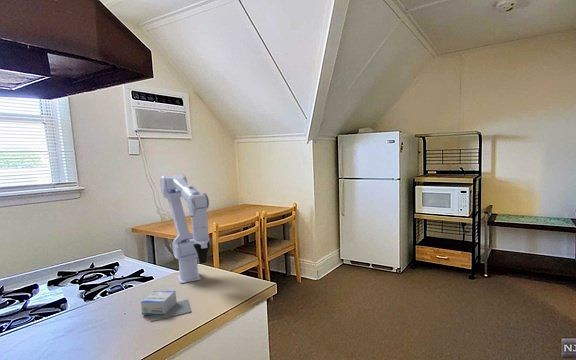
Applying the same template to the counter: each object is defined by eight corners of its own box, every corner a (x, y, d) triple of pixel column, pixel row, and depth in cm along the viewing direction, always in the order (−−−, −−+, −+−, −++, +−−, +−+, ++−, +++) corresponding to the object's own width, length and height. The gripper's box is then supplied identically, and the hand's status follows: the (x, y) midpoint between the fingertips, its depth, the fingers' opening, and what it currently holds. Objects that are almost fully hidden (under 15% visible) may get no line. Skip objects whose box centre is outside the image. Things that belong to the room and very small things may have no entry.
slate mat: (150, 308, 109) (150, 307, 109) (187, 300, 114) (187, 299, 114) (150, 321, 100) (150, 320, 100) (191, 312, 105) (191, 311, 105)
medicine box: (176, 290, 112) (163, 301, 103) (177, 302, 112) (165, 315, 103) (154, 290, 113) (140, 301, 104) (155, 303, 113) (141, 315, 104)
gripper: (186, 224, 126) (189, 259, 127) (191, 232, 112) (194, 270, 113) (205, 222, 128) (208, 256, 129) (211, 229, 115) (214, 266, 116)
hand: (203, 262), depth 122 cm, fingers closed
